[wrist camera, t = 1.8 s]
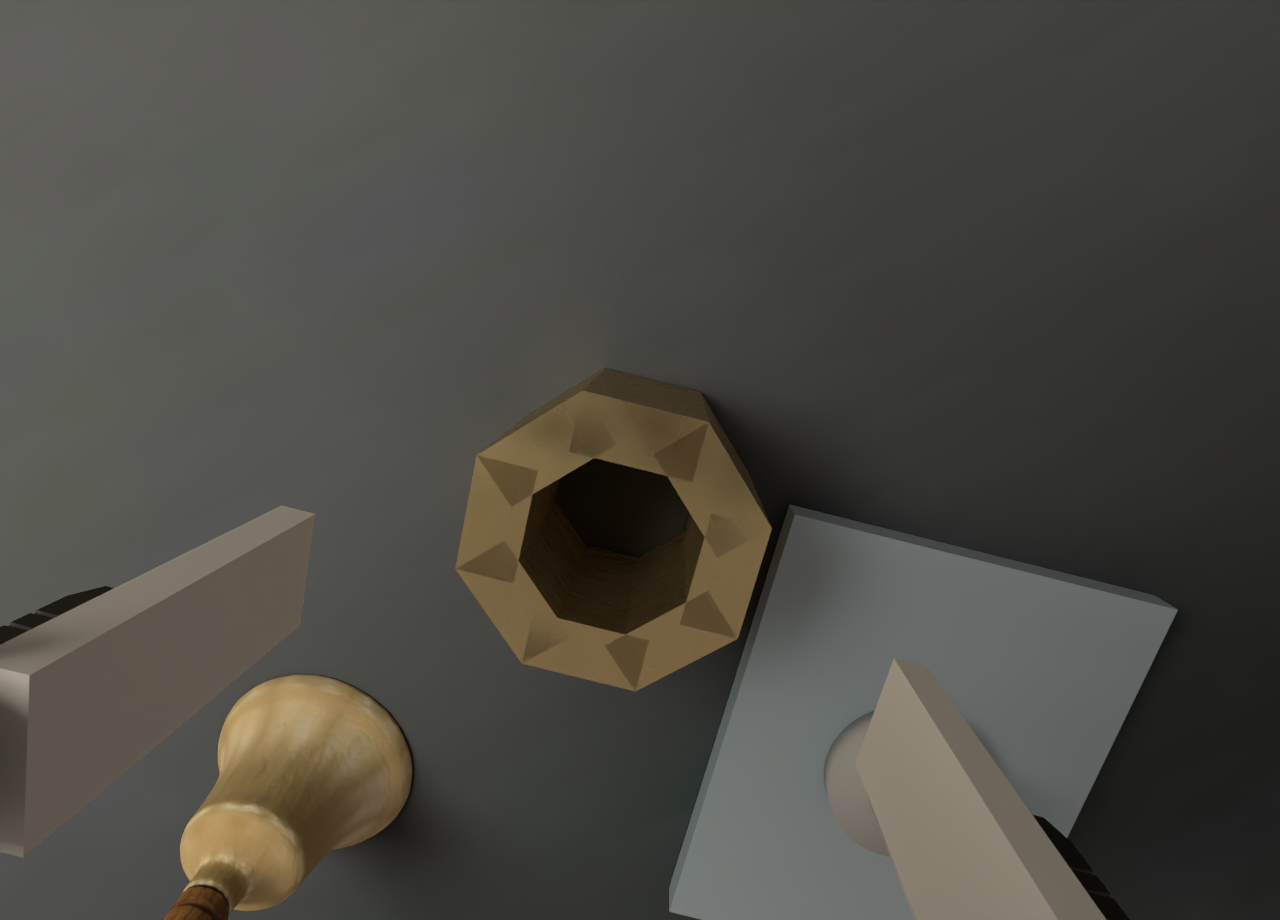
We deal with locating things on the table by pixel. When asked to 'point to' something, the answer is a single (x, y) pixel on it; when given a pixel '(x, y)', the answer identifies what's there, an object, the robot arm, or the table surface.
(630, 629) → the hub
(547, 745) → the table surface
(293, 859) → the hand bell
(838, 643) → the stand
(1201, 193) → the table surface
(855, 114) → the table surface
